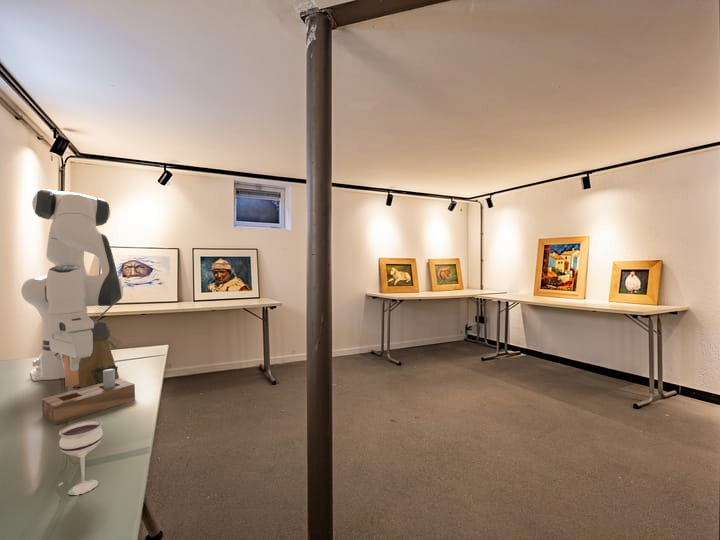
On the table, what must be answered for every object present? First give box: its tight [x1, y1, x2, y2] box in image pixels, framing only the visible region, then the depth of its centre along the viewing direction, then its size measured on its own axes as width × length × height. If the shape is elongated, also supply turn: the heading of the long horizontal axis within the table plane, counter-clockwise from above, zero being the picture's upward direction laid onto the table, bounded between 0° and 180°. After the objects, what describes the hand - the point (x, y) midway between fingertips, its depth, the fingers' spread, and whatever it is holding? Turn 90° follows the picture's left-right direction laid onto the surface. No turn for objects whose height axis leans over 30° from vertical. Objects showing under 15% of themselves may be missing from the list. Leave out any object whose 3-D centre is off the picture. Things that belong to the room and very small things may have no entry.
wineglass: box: [58, 419, 104, 493], centre depth 69 cm, size 7×7×12 cm
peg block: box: [41, 377, 136, 426], centre depth 107 cm, size 10×20×5 cm, turn 147°
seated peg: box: [103, 369, 115, 390], centre depth 111 cm, size 3×3×10 cm
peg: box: [64, 355, 79, 388], centre depth 102 cm, size 3×3×10 cm
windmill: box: [55, 305, 122, 389], centre depth 129 cm, size 21×14×30 cm, turn 148°
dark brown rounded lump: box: [91, 364, 118, 385], centre depth 120 cm, size 8×7×8 cm
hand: (71, 369), depth 102 cm, fingers closed on peg, 3 cm apart
